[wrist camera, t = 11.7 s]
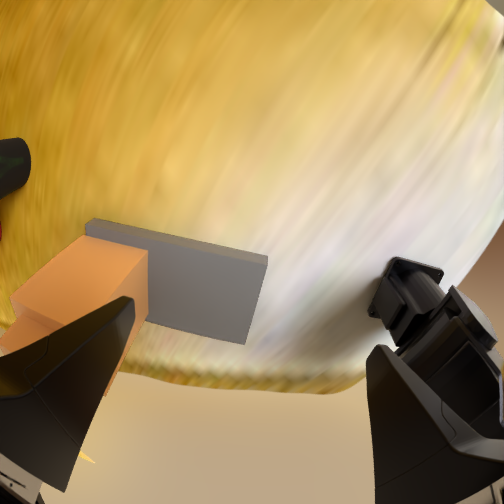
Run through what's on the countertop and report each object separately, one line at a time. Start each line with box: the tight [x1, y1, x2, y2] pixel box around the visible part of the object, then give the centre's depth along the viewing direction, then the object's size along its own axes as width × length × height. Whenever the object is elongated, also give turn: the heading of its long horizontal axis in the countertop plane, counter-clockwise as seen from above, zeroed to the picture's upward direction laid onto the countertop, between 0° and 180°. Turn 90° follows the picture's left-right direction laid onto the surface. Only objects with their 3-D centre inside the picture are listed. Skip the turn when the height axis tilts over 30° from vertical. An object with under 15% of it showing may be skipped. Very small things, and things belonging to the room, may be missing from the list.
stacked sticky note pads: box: [0, 235, 149, 396], centre depth 17 cm, size 7×7×13 cm
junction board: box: [85, 218, 268, 345], centre depth 22 cm, size 16×9×4 cm, turn 78°
